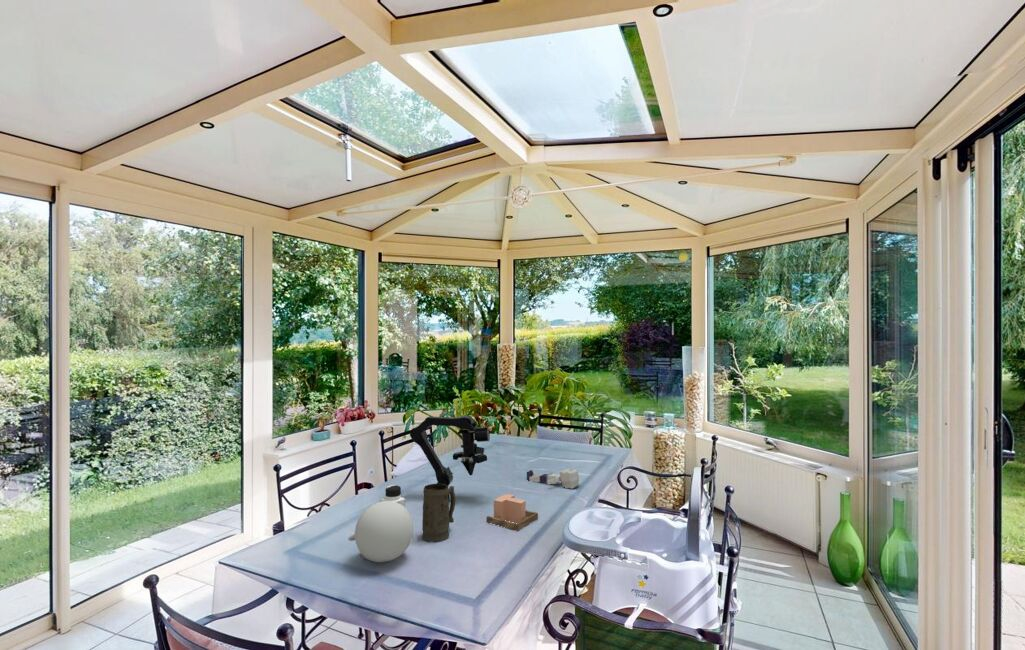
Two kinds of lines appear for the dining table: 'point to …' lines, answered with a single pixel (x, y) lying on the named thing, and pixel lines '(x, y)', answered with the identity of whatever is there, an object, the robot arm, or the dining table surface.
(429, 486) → the beer stein
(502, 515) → the t block
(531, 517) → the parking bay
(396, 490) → the container
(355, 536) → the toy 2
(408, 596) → the dining table surface
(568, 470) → the toy
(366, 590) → the dining table surface
